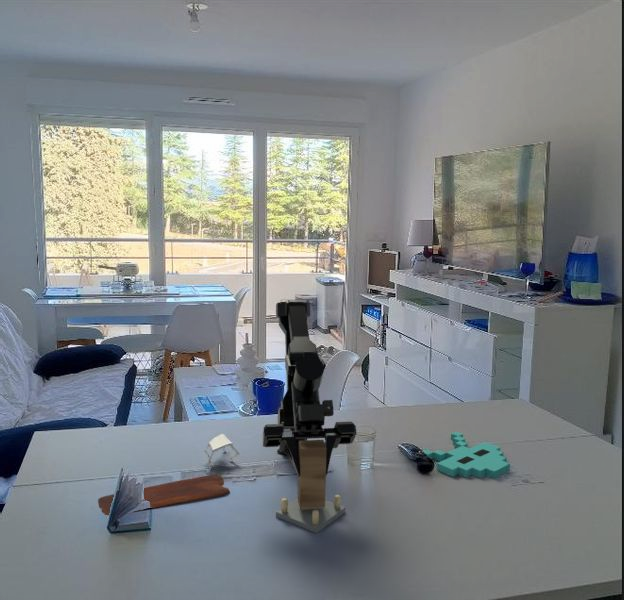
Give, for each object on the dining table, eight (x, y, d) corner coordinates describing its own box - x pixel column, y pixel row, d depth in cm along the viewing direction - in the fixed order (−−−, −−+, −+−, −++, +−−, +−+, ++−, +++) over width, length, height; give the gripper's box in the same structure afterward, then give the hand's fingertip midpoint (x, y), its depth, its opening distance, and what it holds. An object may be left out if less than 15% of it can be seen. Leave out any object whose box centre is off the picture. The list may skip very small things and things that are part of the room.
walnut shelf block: (297, 498, 123) (298, 440, 121) (321, 497, 123) (323, 439, 121) (299, 508, 119) (300, 448, 117) (325, 507, 120) (326, 447, 117)
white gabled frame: (240, 469, 141) (240, 449, 140) (204, 471, 140) (204, 451, 139) (237, 448, 153) (237, 429, 152) (204, 450, 151) (203, 431, 151)
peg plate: (305, 497, 128) (305, 481, 128) (345, 511, 123) (345, 495, 122) (275, 516, 120) (276, 500, 120) (316, 533, 115) (317, 516, 114)
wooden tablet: (219, 477, 138) (219, 470, 138) (232, 497, 129) (232, 489, 129) (96, 498, 127) (96, 490, 127) (100, 521, 118) (100, 513, 118)
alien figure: (407, 459, 149) (477, 489, 134) (407, 451, 149) (477, 480, 134) (455, 439, 162) (524, 464, 147) (456, 431, 162) (524, 455, 147)
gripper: (263, 386, 120) (267, 463, 111) (356, 384, 122) (366, 458, 113) (261, 410, 129) (264, 482, 120) (347, 407, 131) (356, 478, 122)
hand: (312, 475), depth 119 cm, fingers closed on walnut shelf block, 5 cm apart
